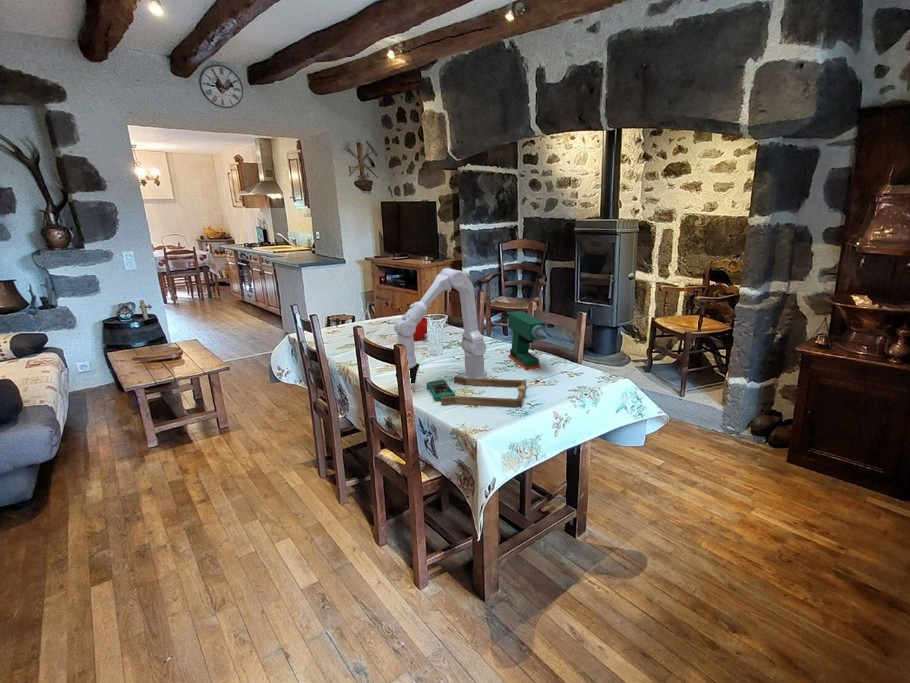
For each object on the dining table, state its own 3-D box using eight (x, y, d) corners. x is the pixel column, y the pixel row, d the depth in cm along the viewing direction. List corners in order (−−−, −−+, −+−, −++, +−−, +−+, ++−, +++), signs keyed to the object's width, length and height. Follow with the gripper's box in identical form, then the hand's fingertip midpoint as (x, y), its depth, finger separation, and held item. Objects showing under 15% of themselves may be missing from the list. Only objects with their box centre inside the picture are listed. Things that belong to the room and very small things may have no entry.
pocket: (454, 382, 189) (454, 373, 188) (527, 385, 182) (527, 376, 182) (440, 405, 168) (439, 396, 167) (522, 409, 162) (522, 400, 161)
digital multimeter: (436, 403, 171) (435, 395, 170) (426, 388, 185) (426, 381, 184) (456, 400, 173) (455, 392, 172) (445, 385, 187) (444, 378, 186)
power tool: (557, 379, 187) (558, 328, 181) (540, 381, 185) (541, 330, 179) (523, 355, 216) (523, 310, 211) (508, 357, 214) (507, 312, 209)
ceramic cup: (418, 345, 237) (417, 325, 234) (397, 339, 249) (396, 320, 246) (438, 339, 245) (437, 320, 242) (417, 334, 257) (416, 315, 254)
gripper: (402, 345, 185) (405, 379, 189) (389, 357, 172) (392, 394, 175) (420, 346, 184) (422, 380, 187) (408, 358, 170) (411, 394, 174)
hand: (409, 386), depth 181 cm, fingers open, 7 cm apart
